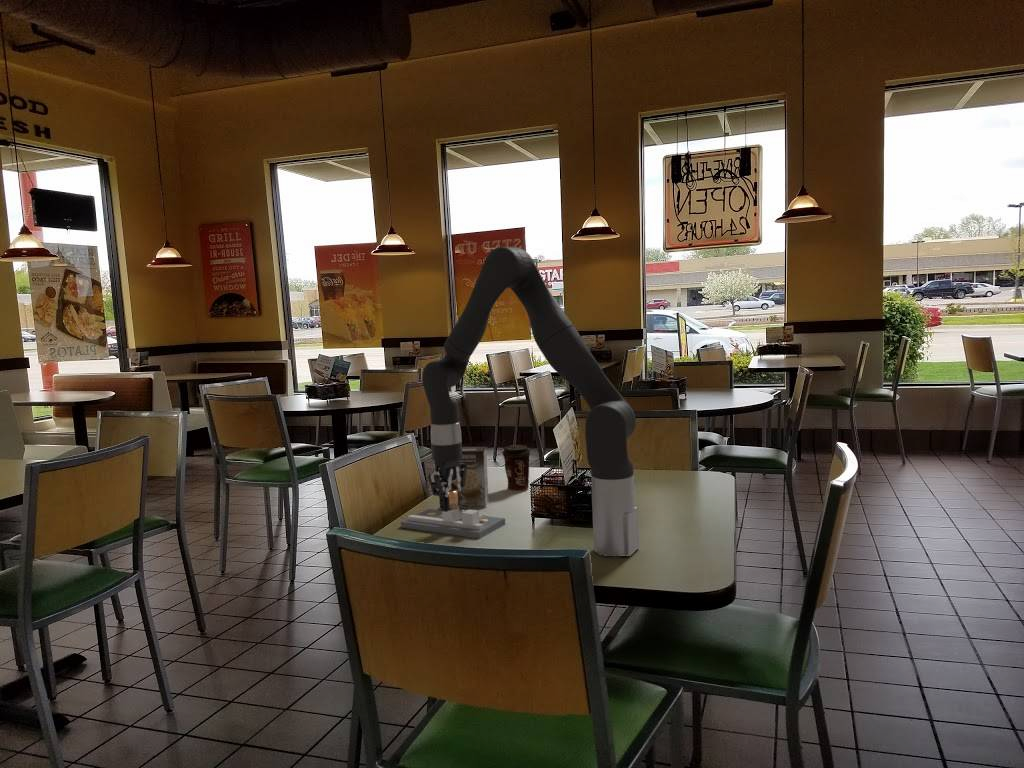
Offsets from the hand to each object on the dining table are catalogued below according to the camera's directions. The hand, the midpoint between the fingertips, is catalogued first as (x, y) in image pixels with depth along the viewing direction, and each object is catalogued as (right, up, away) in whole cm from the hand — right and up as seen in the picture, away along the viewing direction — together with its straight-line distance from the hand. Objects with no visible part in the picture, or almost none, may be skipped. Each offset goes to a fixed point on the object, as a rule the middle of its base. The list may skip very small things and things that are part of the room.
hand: (450, 508), depth 181 cm
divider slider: (+1, -3, +2) cm, 4 cm away
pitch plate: (0, -5, +5) cm, 7 cm away
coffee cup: (+17, -1, +37) cm, 41 cm away
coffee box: (+4, -3, +23) cm, 24 cm away
